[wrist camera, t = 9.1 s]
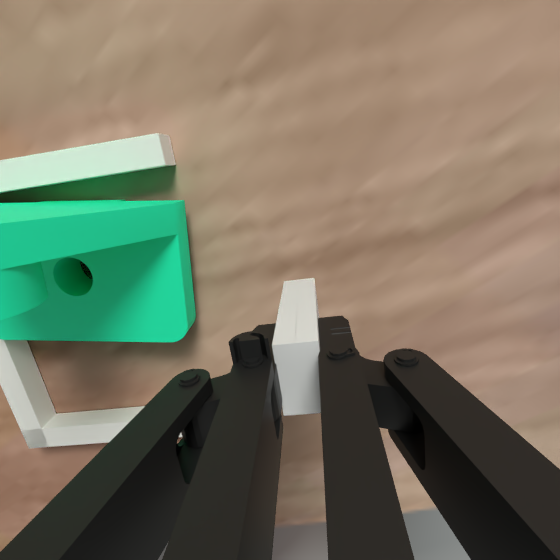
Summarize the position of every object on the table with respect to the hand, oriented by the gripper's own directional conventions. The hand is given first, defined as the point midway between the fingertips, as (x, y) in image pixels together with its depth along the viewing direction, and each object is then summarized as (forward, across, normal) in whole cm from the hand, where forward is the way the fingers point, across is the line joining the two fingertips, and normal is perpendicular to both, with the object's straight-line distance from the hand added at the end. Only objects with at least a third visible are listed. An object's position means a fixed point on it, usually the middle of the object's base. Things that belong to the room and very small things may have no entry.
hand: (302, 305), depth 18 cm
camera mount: (+4, -12, +3) cm, 13 cm away
